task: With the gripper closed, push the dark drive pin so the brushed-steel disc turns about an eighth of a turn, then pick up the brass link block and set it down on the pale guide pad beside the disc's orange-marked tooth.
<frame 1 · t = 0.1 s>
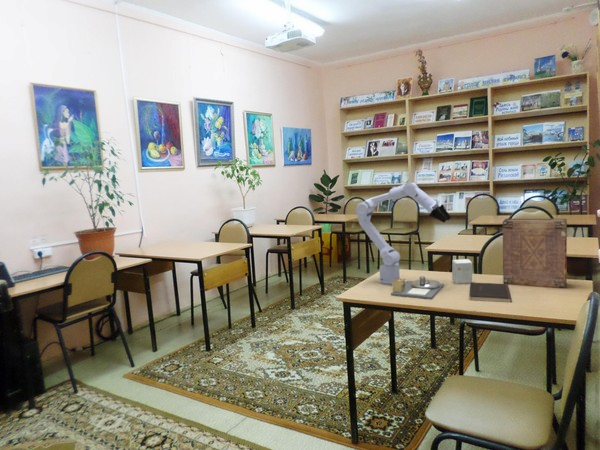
hand: (447, 219, 196), 32 cm above the table, tool tilted 50°, fingers open, 7 cm apart
book: (534, 284, 197), on the table
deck: (418, 290, 197), on the table
guide pad: (418, 292, 191), resting on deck
small box: (461, 281, 207), on the table
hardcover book: (489, 295, 186), on the table
link block: (399, 290, 195), point 1 cm above the table, touching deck
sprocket: (425, 280, 200), point 4 cm above the table, hinge at 0.0°
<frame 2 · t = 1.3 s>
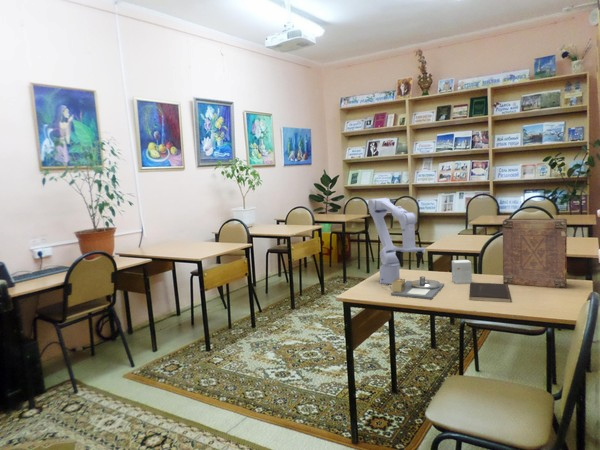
hand: (410, 267, 199), 11 cm above the table, tool pointing down, fingers open, 7 cm apart
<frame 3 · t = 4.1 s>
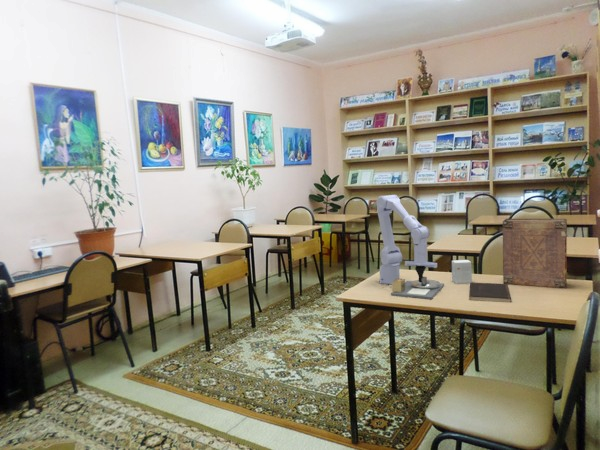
hand: (421, 281, 197), 4 cm above the table, tool pointing down, fingers closed, pressing on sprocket
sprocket: (425, 280, 200), point 4 cm above the table, hinge at 7.5°, touching gripper
everything else where it was.
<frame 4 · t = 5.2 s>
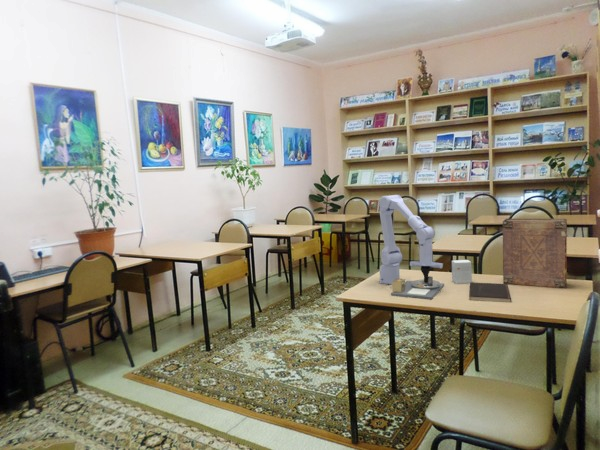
hand: (426, 282, 196), 4 cm above the table, tool pointing down, fingers closed, pressing on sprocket
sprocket: (425, 280, 200), point 4 cm above the table, hinge at 38.5°, touching gripper
everything else where it was.
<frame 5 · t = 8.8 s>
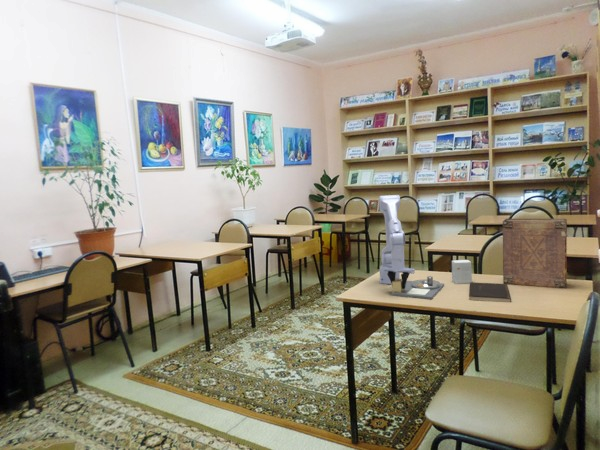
hand: (398, 287, 195), 2 cm above the table, tool pointing down, fingers closed on link block, 4 cm apart
link block: (399, 290, 195), point 1 cm above the table, touching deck, gripper
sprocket: (425, 280, 200), point 4 cm above the table, hinge at 38.7°
everything else where it was.
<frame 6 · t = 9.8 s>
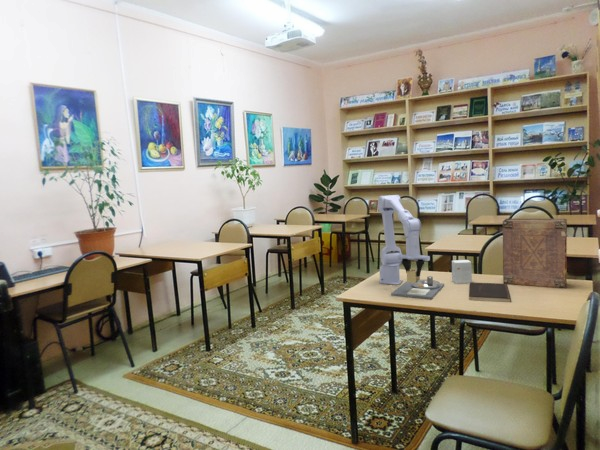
hand: (413, 275, 191), 9 cm above the table, tool pointing down, fingers closed on link block, 4 cm apart
link block: (413, 280, 191), point 6 cm above the table, touching gripper
everything else where it was.
when the fingers open (4 cm above the table, at t = 11.1 s): link block stays where it is, resting on guide pad.
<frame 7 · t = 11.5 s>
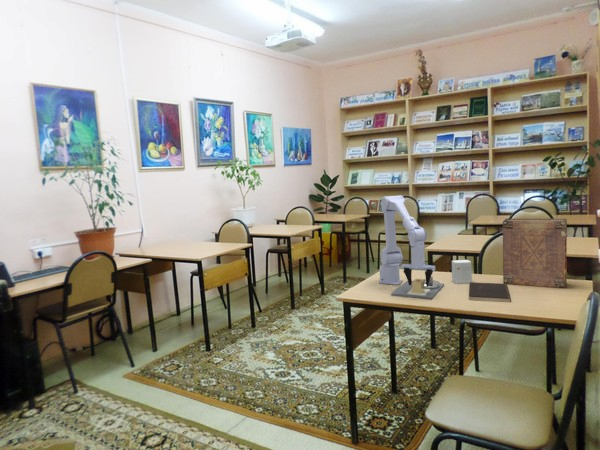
hand: (418, 285, 190), 4 cm above the table, tool pointing down, fingers open, 7 cm apart
link block: (418, 291, 190), point 1 cm above the table, touching guide pad
everything else where it was.
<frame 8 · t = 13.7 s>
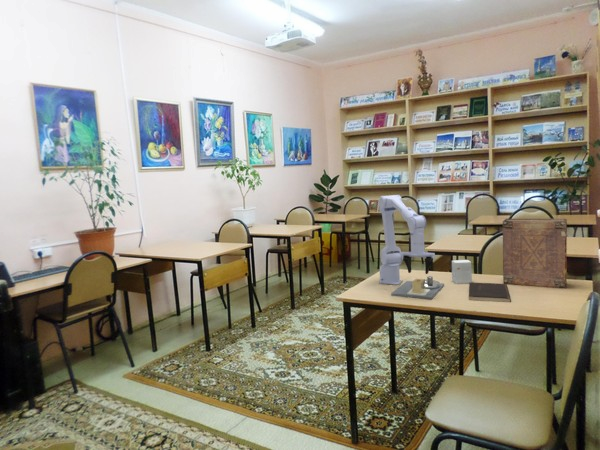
hand: (418, 273, 190), 10 cm above the table, tool pointing down, fingers open, 7 cm apart
nothing on the table moved.
at the end: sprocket at +39° (first picture: +0°); link block inside the target area (0.1 cm from its centre), point 1.5 cm above the table; link block tilted 0° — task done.
